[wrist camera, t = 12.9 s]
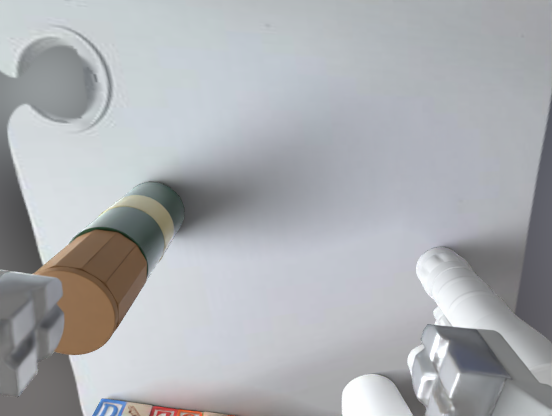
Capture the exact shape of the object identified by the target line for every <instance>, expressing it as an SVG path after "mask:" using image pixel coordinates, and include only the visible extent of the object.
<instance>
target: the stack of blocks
mask: <svg viewBox="0 0 552 416" xmlns="http://www.w3.org/2000/svg"><path fill="white" fill-rule="evenodd" d="M92 416H233V415H225V414H219V413H212V412H199V411H190V410H182V409H173V408H166V407H158V406H152V405H147V404H140V403H132V402H125V401H119V400H110V399H101V401H100V402H99V404H98V406H97V408H96V410H95V412H94V413H93V415H92Z"/></svg>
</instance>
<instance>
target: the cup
mask: <svg viewBox="0 0 552 416" xmlns="http://www.w3.org/2000/svg"><path fill="white" fill-rule="evenodd" d="M342 416H413V414H412V413H411V411H410V409H409V408H408V406H407V404H406V402H405V401H404V399H403V397H402V396H401V394H400V392H399V391H398V389H397V387H396V385H395V384H394V383H393V382H392V381H391V380H390V379H388V378H387V377H384V376H382V375H377V374H367V375H362V376H359V377H357V378H355V379H353V380H352V381H351V382H349V383H348V384H347V386H346V387H345V389H344V391H343V393H342Z"/></svg>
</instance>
